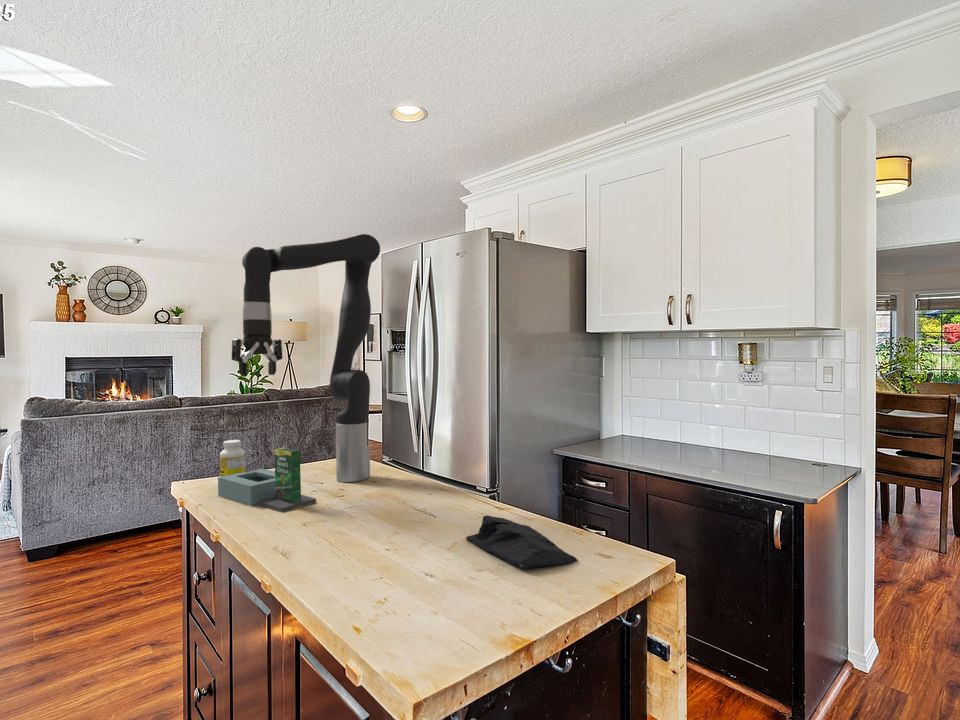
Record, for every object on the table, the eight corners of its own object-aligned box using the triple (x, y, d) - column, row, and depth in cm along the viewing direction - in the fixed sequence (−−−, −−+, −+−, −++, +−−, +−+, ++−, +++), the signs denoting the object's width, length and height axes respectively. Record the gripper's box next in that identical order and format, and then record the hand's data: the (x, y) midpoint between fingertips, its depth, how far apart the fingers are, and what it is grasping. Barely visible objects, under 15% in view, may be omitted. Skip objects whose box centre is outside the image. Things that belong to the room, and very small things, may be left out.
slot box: (262, 485, 155) (262, 468, 155) (295, 494, 146) (295, 476, 146) (218, 495, 145) (217, 477, 145) (250, 505, 135) (250, 486, 135)
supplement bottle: (220, 483, 158) (219, 440, 158) (244, 481, 161) (244, 438, 161) (220, 488, 152) (219, 443, 152) (245, 486, 155) (244, 442, 154)
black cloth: (512, 580, 93) (512, 553, 93) (461, 539, 113) (461, 517, 112) (584, 565, 99) (584, 539, 99) (524, 528, 119) (524, 507, 119)
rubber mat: (292, 496, 144) (292, 492, 144) (316, 502, 138) (316, 498, 138) (258, 505, 136) (258, 501, 136) (281, 512, 130) (281, 508, 130)
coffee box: (274, 498, 138) (273, 447, 138) (284, 495, 141) (283, 446, 140) (291, 504, 133) (290, 451, 133) (301, 501, 136) (301, 449, 135)
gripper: (272, 320, 160) (273, 374, 161) (226, 318, 149) (226, 376, 149) (287, 319, 156) (287, 374, 156) (240, 317, 144) (241, 377, 145)
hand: (258, 375), depth 153 cm, fingers open, 8 cm apart
